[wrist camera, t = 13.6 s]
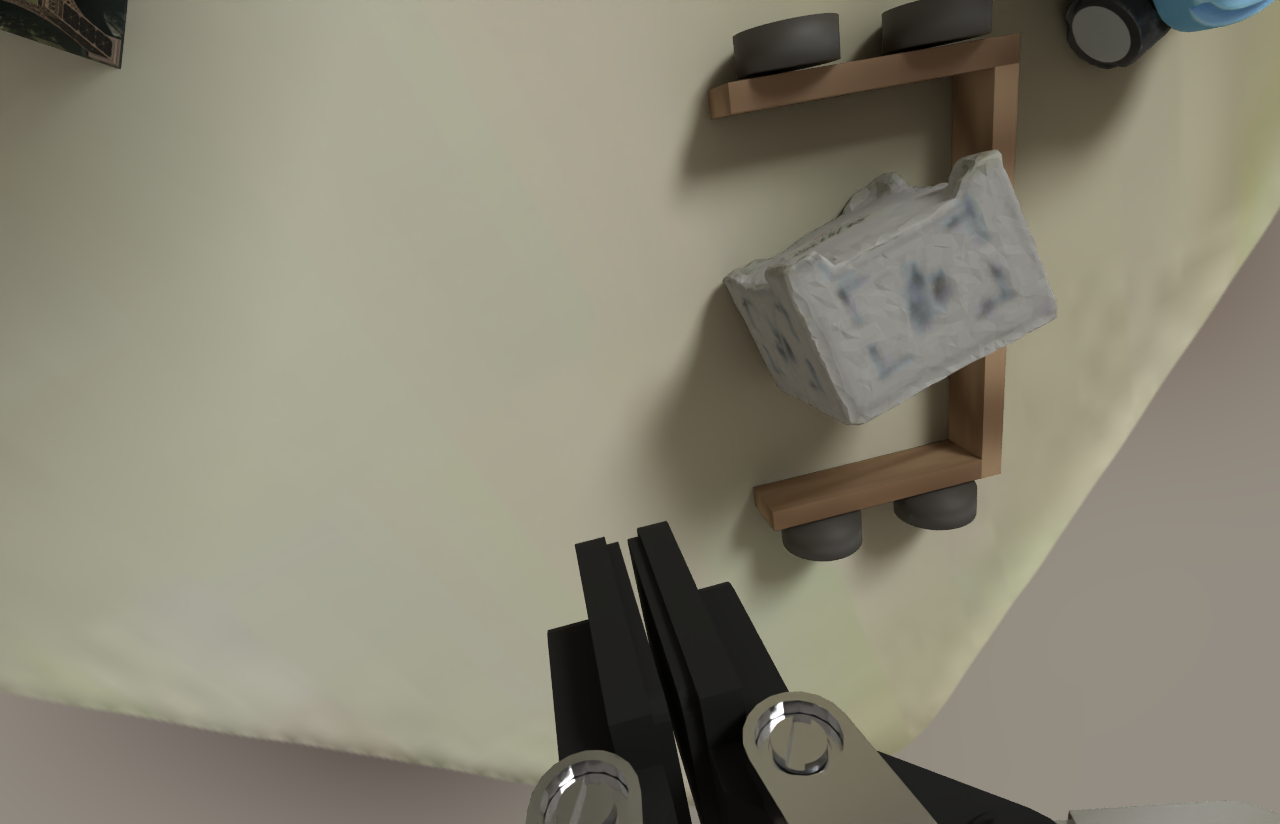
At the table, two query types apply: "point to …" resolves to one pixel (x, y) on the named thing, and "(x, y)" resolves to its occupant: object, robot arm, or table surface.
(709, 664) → the robot arm
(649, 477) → the table surface
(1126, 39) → the toy excavator
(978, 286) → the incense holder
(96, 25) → the eiffel tower figurine
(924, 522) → the chassis bay
